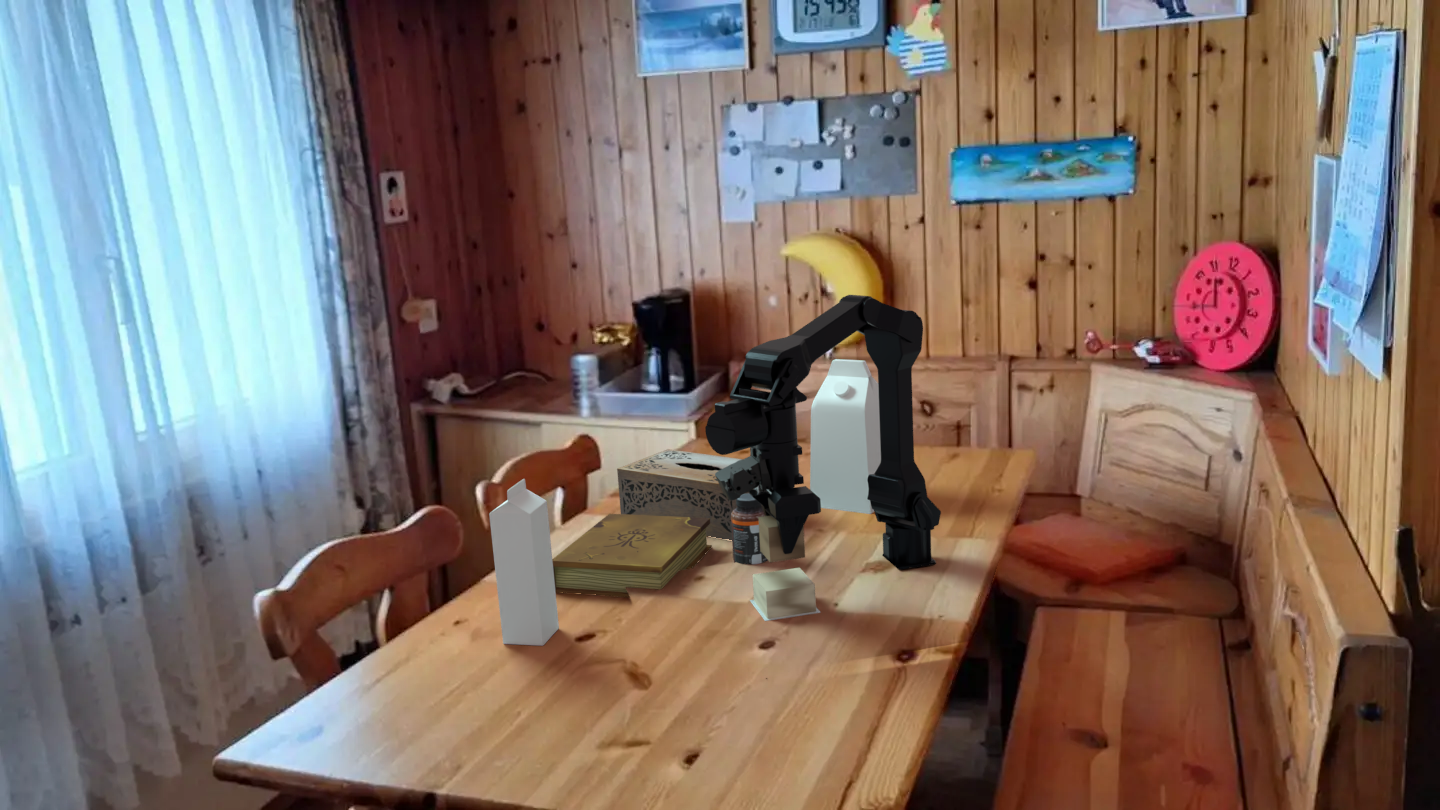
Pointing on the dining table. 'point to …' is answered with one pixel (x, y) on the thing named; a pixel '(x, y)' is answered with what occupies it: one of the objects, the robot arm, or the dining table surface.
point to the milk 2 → (845, 437)
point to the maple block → (784, 593)
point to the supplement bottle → (747, 531)
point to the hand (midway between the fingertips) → (782, 547)
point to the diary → (630, 554)
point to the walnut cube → (777, 541)
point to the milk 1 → (524, 568)
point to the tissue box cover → (678, 488)
